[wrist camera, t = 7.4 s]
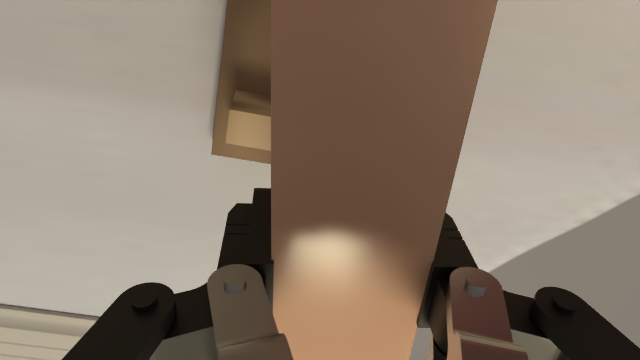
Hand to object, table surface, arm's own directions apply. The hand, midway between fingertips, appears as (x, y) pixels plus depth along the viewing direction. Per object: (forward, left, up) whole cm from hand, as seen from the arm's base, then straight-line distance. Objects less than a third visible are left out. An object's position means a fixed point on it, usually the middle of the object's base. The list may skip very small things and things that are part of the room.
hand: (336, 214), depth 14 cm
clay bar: (0, 0, -1) cm, 1 cm away
